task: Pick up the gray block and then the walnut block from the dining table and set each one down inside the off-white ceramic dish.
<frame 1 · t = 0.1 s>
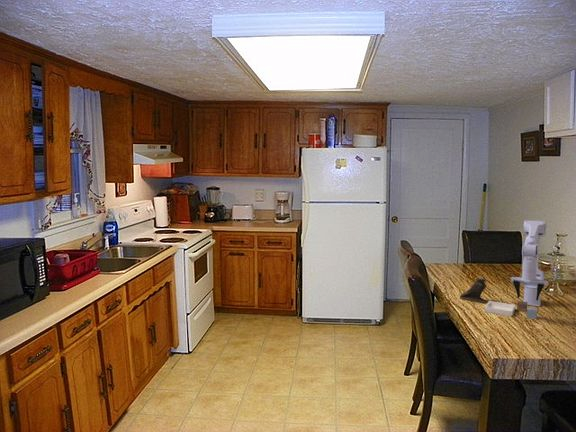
hand: (527, 298, 205), 10 cm above the table, fingers open, 7 cm apart
gray block: (531, 317, 209), on the table
walnut block: (522, 310, 219), on the table
sculpture: (472, 300, 236), on the table
dish: (500, 310, 218), on the table
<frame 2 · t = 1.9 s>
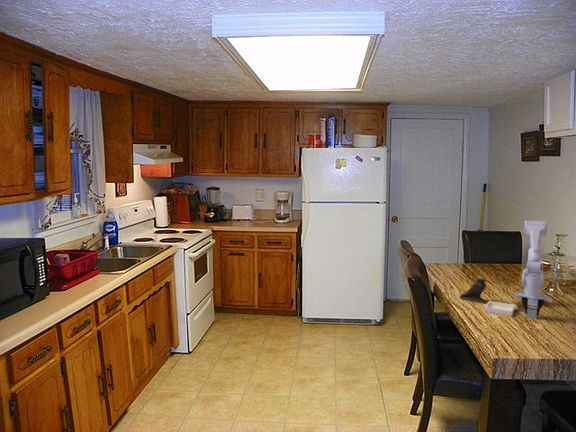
hand: (532, 314, 209), 1 cm above the table, fingers closed on gray block, 4 cm apart
gray block: (531, 317, 209), on the table, touching gripper
everything else where it was.
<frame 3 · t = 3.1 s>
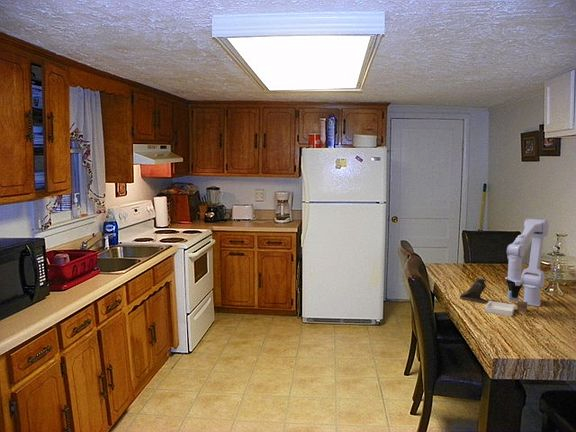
hand: (513, 296, 214), 8 cm above the table, fingers closed on gray block, 4 cm apart
gray block: (512, 299, 214), point 7 cm above the table, touching gripper
everything else where it was.
when the fingers open (4 cm above the table, at t = 4.5 s): gray block drops 2 cm, resting on dish.
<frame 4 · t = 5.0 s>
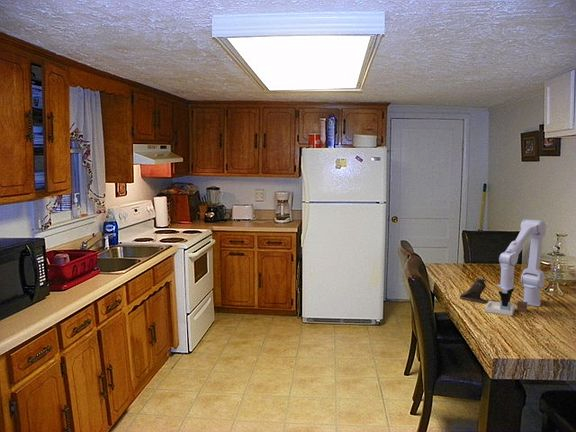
hand: (506, 304, 216), 4 cm above the table, fingers open, 7 cm apart
gray block: (505, 310, 217), point 1 cm above the table, touching dish
everything else where it was.
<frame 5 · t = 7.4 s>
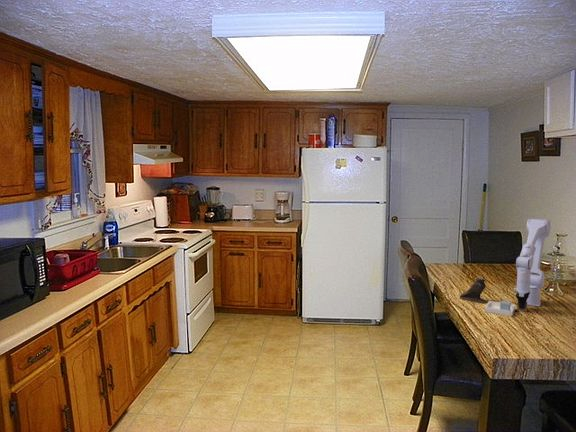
hand: (522, 307, 219), 1 cm above the table, fingers closed on walnut block, 4 cm apart
walnut block: (522, 310, 219), on the table, touching gripper
everything else where it was.
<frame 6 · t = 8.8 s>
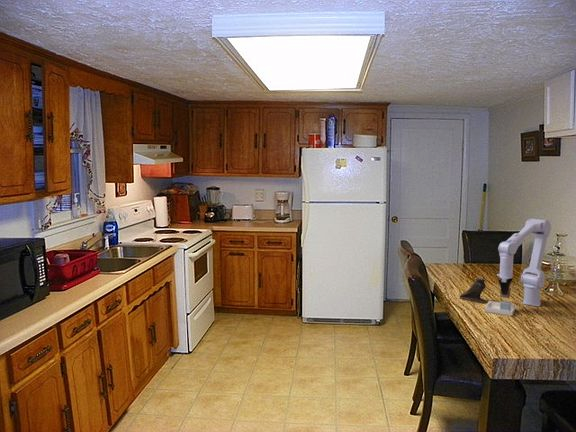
hand: (505, 293, 218), 9 cm above the table, fingers closed on walnut block, 4 cm apart
walnut block: (505, 296, 218), point 7 cm above the table, touching gripper
everything else where it was.
when the fingers open (4 cm above the table, at t = 10.3 s): walnut block drops 2 cm, resting on dish.
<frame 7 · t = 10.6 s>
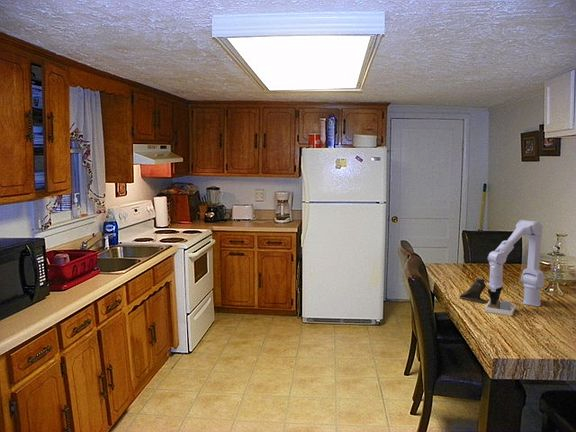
hand: (494, 302, 219), 4 cm above the table, fingers open, 6 cm apart
walnut block: (494, 308, 219), point 1 cm above the table, touching dish
everything else where it was.
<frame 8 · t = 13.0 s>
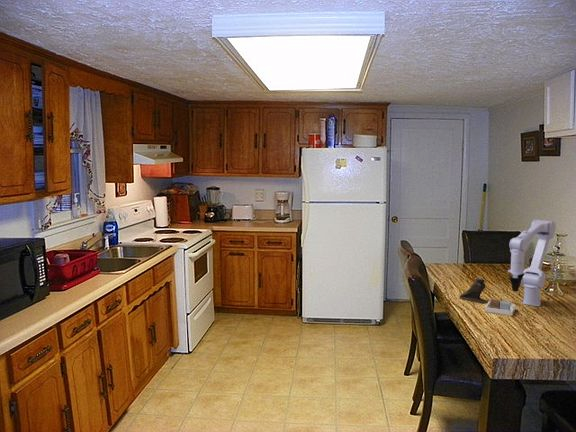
hand: (516, 289, 219), 10 cm above the table, fingers open, 7 cm apart
nothing on the table moved.
at the end: gray block inside the target area on the dish (2.3 cm from its centre), point 0.6 cm above the dish's base; walnut block inside the target area on the dish (2.4 cm from its centre), point 0.6 cm above the dish's base; the gripper is holding nothing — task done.
